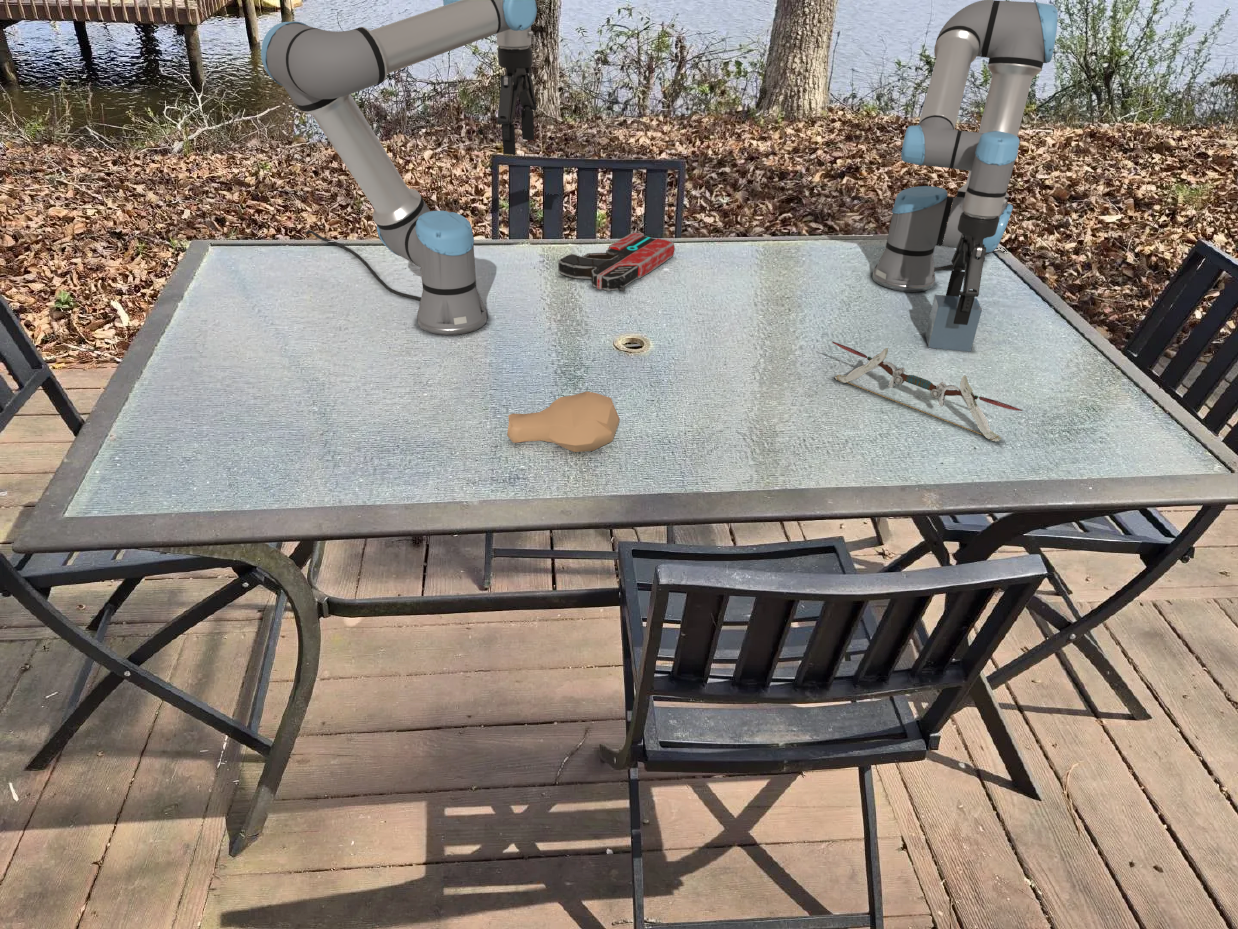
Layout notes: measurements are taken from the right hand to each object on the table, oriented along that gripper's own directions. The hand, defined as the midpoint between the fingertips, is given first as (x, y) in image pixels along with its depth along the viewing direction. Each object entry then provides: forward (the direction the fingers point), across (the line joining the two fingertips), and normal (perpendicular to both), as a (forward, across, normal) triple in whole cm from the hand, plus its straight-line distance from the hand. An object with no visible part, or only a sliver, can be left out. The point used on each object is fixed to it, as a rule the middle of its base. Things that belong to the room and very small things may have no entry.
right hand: (955, 311), depth 190 cm
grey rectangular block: (+8, 0, 0) cm, 8 cm away
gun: (+8, +27, +79) cm, 84 cm away
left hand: (-24, +17, +102) cm, 106 cm away
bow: (+8, -32, +10) cm, 34 cm away
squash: (+9, -58, +74) cm, 94 cm away
